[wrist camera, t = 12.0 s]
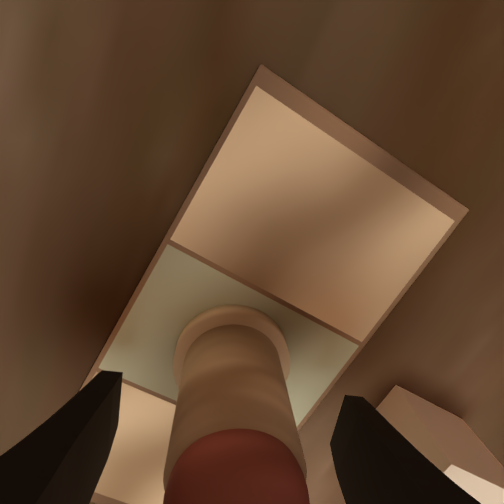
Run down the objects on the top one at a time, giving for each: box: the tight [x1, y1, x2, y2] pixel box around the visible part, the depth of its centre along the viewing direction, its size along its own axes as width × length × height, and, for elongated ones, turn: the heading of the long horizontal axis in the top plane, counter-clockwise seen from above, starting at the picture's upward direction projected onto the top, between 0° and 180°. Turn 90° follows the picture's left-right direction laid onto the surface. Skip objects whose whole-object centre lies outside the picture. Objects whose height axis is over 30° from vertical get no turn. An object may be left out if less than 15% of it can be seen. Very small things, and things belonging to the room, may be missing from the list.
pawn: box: [163, 304, 310, 504], centre depth 10 cm, size 4×4×8 cm
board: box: [80, 64, 469, 504], centre depth 14 cm, size 9×19×1 cm, turn 149°
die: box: [376, 385, 504, 504], centre depth 14 cm, size 4×4×4 cm
